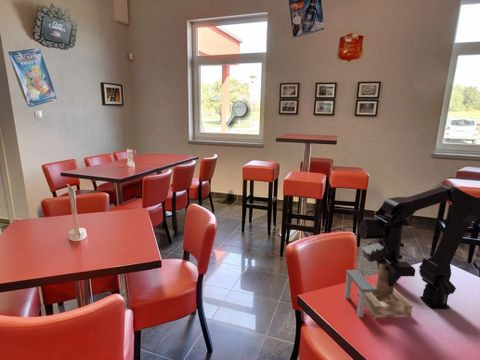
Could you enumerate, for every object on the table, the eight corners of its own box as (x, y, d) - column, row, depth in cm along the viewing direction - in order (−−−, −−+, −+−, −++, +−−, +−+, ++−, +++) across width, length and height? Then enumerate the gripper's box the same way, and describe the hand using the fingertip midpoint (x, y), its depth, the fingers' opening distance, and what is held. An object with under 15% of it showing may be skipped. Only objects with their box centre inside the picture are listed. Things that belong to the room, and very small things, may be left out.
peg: (387, 285, 100) (391, 261, 98) (396, 294, 95) (399, 269, 93) (373, 286, 100) (376, 261, 98) (381, 294, 95) (384, 269, 93)
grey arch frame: (354, 295, 104) (357, 269, 102) (371, 317, 92) (374, 289, 90) (343, 295, 104) (346, 270, 102) (358, 317, 92) (362, 289, 90)
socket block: (390, 295, 105) (391, 285, 104) (410, 317, 93) (412, 305, 92) (357, 295, 104) (358, 285, 103) (374, 317, 92) (375, 306, 92)
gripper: (354, 227, 102) (350, 268, 106) (382, 250, 84) (376, 299, 87) (385, 227, 103) (380, 268, 106) (419, 250, 85) (412, 298, 88)
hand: (385, 281), depth 97 cm, fingers closed on peg, 5 cm apart
